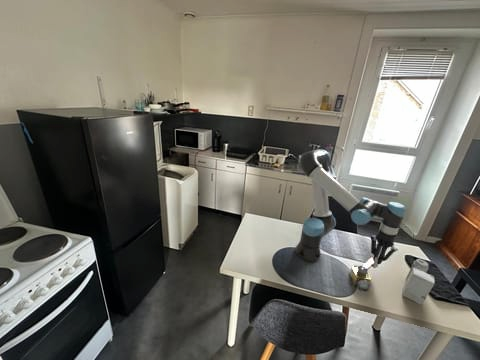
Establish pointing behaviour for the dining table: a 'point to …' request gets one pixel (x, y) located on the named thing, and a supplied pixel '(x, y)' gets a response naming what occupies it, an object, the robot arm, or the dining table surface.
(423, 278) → the skincare box
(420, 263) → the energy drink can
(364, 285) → the valve
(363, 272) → the lever
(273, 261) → the dining table surface
